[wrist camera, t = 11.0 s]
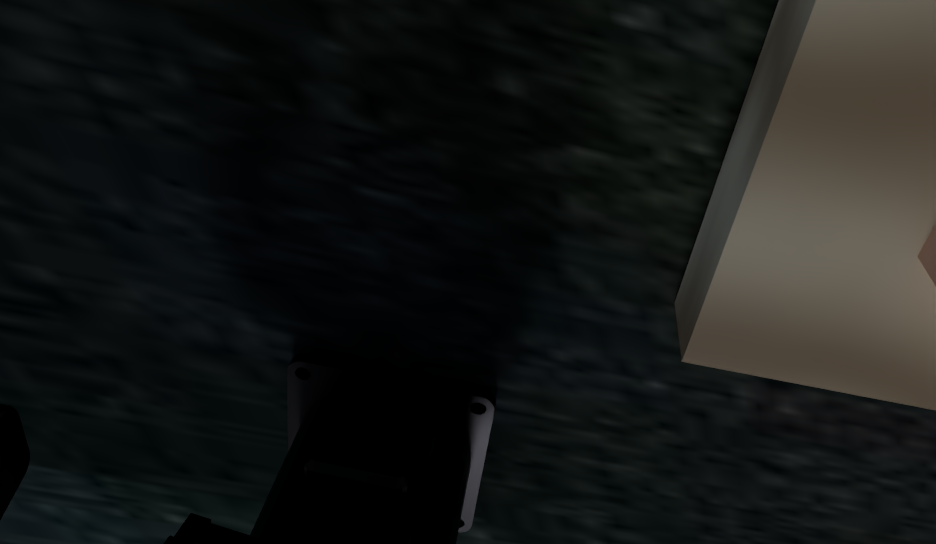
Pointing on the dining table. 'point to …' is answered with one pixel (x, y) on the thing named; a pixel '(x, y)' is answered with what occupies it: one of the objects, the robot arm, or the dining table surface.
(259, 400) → the dining table surface
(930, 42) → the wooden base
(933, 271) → the terracotta block
